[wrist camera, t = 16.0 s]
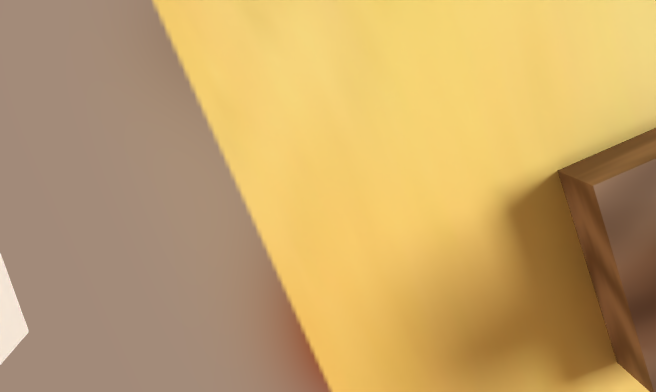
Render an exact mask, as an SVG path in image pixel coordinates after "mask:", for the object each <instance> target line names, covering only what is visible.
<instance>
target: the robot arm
mask: <svg viewBox="0 0 656 392" xmlns="http://www.w3.org/2000/svg"><path fill="white" fill-rule="evenodd" d="M28 332H29V331H28V328H27V325H26V323H25V320H24V317H23V314H22V312H21V309H20V306H19V303H18V300H17V298H16V295H15V292H14V289H13V287H12V284H11V281H10V278H9V276H8V273H7V270H6V267H5V265H4V262H3V259H2V256H1V253H0V365H1V363H2V362H3V361H4V360H5V359H6V358H7V356H8V355H9V354H10V353H11V352H12V351H13V350H14V348H15V347H16V346H17V345H18V344H19V343H20V341H21V340H22V339H23V338H24V337H25V336H26V334H27V333H28Z"/></svg>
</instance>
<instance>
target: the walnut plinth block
mask: <svg viewBox="0 0 656 392" xmlns="http://www.w3.org/2000/svg"><path fill="white" fill-rule="evenodd" d="M558 173H559V177H560V180H561V183H562V186H563V189H564V193H565V196H566V199H567V202H568V206H569V209H570V212H571V215H572V218H573V222H574V225H575V228H576V231H577V234H578V238H579V241H580V244H581V247H582V250H583V254H584V257H585V260H586V263H587V267H588V270H589V273H590V276H591V279H592V283H593V286H594V289H595V292H596V295H597V299H598V302H599V305H600V308H601V312H602V315H603V318H604V321H605V324H606V328H607V331H608V334H609V337H610V340H611V344H612V347H613V350H614V353H615V356H616V360H617V363H618V364H620V365H621V366H622V367H623V368H624V369H625V370H626V371H627V372H629V373H630V374H631V375H632V376H633V377H634V378H635V379H636V380H638V381H639V382H640V383H641V384H642V385H643V386H644V387H645V388H647V389H648V390H649V391H650V392H656V128H655V129H652V130H650V131H648V132H645V133H643V134H641V135H638V136H636V137H634V138H632V139H629V140H627V141H625V142H622V143H620V144H618V145H615V146H613V147H611V148H609V149H606V150H604V151H602V152H599V153H597V154H595V155H592V156H590V157H588V158H586V159H583V160H581V161H579V162H576V163H574V164H572V165H570V166H567V167H565V168H563V169H560V170H558Z"/></svg>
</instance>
